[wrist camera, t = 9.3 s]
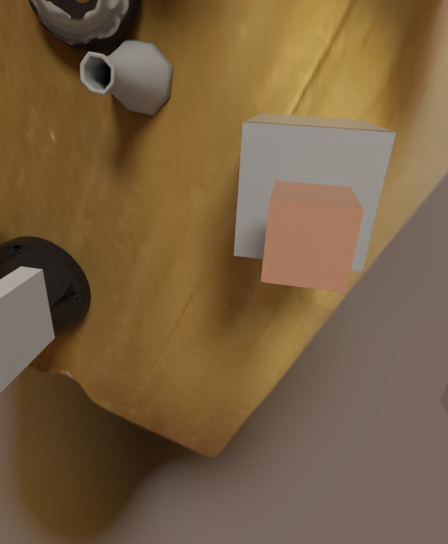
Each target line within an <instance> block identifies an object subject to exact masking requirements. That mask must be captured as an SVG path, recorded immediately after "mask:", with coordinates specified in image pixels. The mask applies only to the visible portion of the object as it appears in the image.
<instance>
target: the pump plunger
mask: <svg viewBox="0 0 448 544" xmlns="http://www.w3.org/2000/svg"><path fill="white" fill-rule="evenodd" d="M363 213H364V210H363V208H362V206H361V204H360V203H359V201H358V199H357V197H356V196H355V194H354V192H353V190H352V188H351V187H347V186H336V185H324V184H313V183H302V182H291V181H280V180H275V183H274V187H273V191H272V194H271V198H270V201H269V210H268V219H267V228H266V238H265V247H264V256H263V266H262V275H261V282H266V283H273V284H281V285H289V286H296V287H304V288H312V289H319V290H327V291H335V292H342V293H345V292H346V287H347V283H348V279H349V274H350V270H351V265H352V261H353V257H354V252H355V248H356V243H357V239H358V235H359V230H360V226H361V221H362V217H363Z"/></svg>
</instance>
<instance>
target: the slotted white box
mask: <svg viewBox="0 0 448 544" xmlns="http://www.w3.org/2000/svg"><path fill="white" fill-rule="evenodd" d="M395 134H396V133H395V132H392V131H390V130H387V129H385V128H382V127H380V126H377V125H374V124H372V123H369V122H367V121H364V120H361V119H351V118H335V117H320V116H304V115H289V114H273V113H261V114H259V115H257V116H255V117H253V118H251V119H249V120H247V121H245V122H243V128H242V142H241V157H240V171H239V186H238V201H237V215H236V230H235V244H234V256H240V257H248V258H256V259H263V256H264V247H265V238H266V228H267V219H268V210H269V201H270V198H271V194H272V191H273V187H274V183H275V180H280V181H291V182H302V183H313V184H324V185H336V186H347V187H351V188H352V190H353V192H354V194H355V196H356V197H357V199H358V201H359V203H360V204H361V206H362V208H363V210H364V213H363V217H362V221H361V226H360V230H359V235H358V239H357V243H356V248H355V252H354V257H353V261H352V265H351V270H355V271H362V270H363V266H364V262H365V258H366V253H367V249H368V245H369V241H370V237H371V233H372V229H373V225H374V220H375V216H376V212H377V208H378V204H379V200H380V196H381V192H382V188H383V183H384V179H385V175H386V171H387V167H388V163H389V159H390V155H391V151H392V146H393V142H394V138H395Z"/></svg>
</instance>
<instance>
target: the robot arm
mask: <svg viewBox="0 0 448 544" xmlns="http://www.w3.org/2000/svg"><path fill="white" fill-rule="evenodd" d="M89 304H90V289H89V285H88V282H87V279H86V277H85V275H84V273H83V271H82V269H81V268H80V266H79V265H78V264H77V262H76V261H75V260H74V259H73V258H72V257H71V256H70V255H69V254H68V253H67V252H66V251H64V250H63V249H62V248H60V247H59V246H57V245H55V244H54V243H52V242H50V241H47V240H44V239H41V238H37V237H18V238H15V239H12V240H10V241H8V242H6V243H4V244H2V245H1V246H0V393H1V392H2V391H3V390H4V389H5V388H6V387H7V386H8V385H9V384H10V383H11V382H12V381H13V380H14V379H15V378H16V377H17V376H18V375H19V374H20V373H21V372H22V371H23V370H24V369H25V368H26V367H27V366H28V365H29V364H30V363H31V362H32V361H33V360H34V359H35V358H36V357H37V356H38V355H39V354H40V353H41V352H42V351H43V350H44V348H45V347H46V346H47V345H48V344H49V343H50V342H51V341H52V340H53V339H54V338H55V337H56V336H58V335H61V334H63V333H65V332H67V331H69V330H70V329H72V328H73V327H74V326H75V325H76V324H77V323H78V322H79V321H80V320H81V319H82V318H83V317H84V316H85V314H86V313H87V311H88V308H89ZM441 402H442V404H443V406H444V408H445V411H446V413H447V414H448V384H447V387H446V389H445V391H444V394H443V396H442V399H441Z"/></svg>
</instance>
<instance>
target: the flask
mask: <svg viewBox="0 0 448 544" xmlns="http://www.w3.org/2000/svg"><path fill="white" fill-rule="evenodd" d="M172 72H173V66H172V65H171V63H170V62H169V61H168V60H167V59H166V57H165V56H164V55H163V54H162V53H161V52H160V50H159V49H158V48H157V47H156V46H155V44H154V43H149V42H144V41H139V40H133V39H128V38H127V39H126V40H125V41H124V42H123V43H122V44H121V45H120V46H119V47H118V48H117V49H116V50H115V51H114V52H113V53H112V54H111V55H109V56H105V55H104V54H100V53H95V52H89V51H88V53H87V54H86V56H85V57H84V59H83V60H82V61H81V63H80V81H81V82H82V83H83V84H84V85H85V86H86V87H87V88H88V90H89V91H90V92H92V93H97V94H102V95H107V94H108V93H109V92H110V93H112V94H113V95H114V96H115V97H116V98H117V99H118V100H119V101H120V102H121V103H122V104H123V105H124V106H125V107H126V108H127V109H128V110H129V111H133V112H138V113H143V114H148V115H154V114H155V113H156V112H157V111H158V110H159V109H160V107H161V106H162V105H163V104H164V103H165V102H166V101H167V99H168V98H169V97H170V93H171V83H172Z"/></svg>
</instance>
